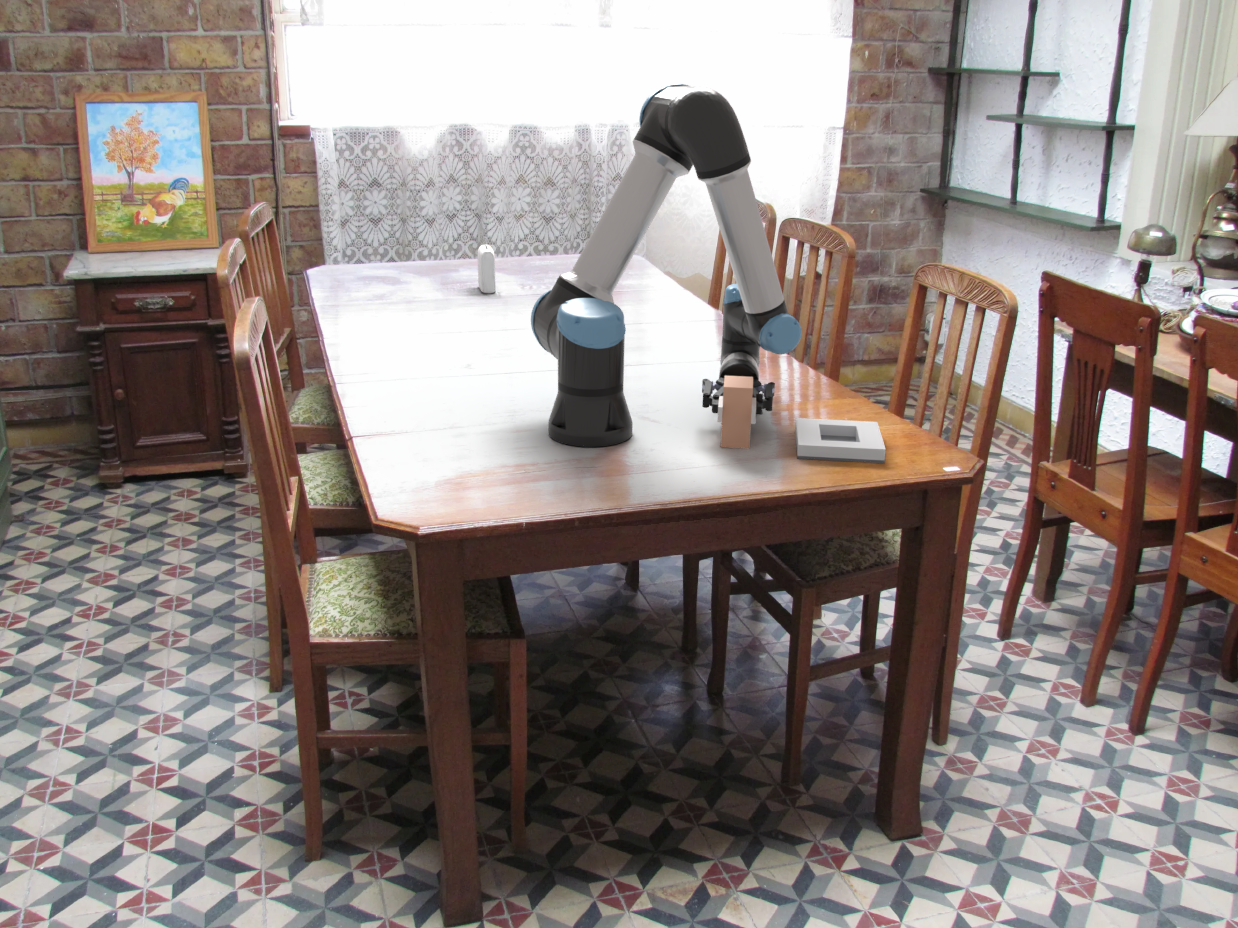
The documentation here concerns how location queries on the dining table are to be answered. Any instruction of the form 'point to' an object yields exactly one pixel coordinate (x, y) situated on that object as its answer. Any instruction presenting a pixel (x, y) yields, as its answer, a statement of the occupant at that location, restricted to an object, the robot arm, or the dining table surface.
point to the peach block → (736, 412)
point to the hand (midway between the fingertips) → (736, 415)
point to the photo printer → (486, 269)
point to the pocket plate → (839, 440)
